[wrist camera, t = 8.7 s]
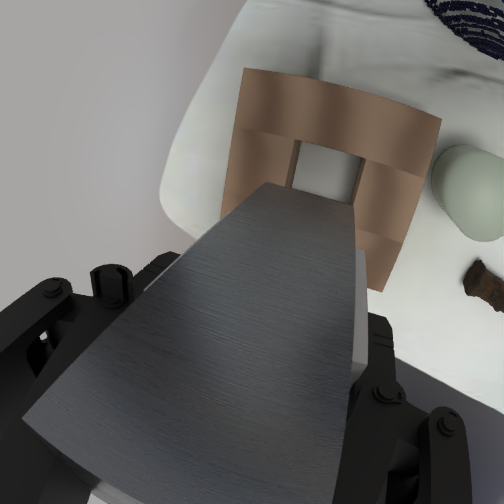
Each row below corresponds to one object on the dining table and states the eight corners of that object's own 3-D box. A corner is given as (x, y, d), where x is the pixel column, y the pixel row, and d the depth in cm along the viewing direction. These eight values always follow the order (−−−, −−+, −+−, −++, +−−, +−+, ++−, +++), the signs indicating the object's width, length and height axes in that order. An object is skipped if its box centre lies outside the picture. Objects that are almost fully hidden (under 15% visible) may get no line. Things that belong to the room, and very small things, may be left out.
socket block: (428, 117, 25) (441, 119, 21) (379, 269, 34) (382, 292, 29) (259, 73, 28) (243, 67, 24) (233, 225, 37) (217, 242, 33)
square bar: (354, 206, 14) (317, 556, 2) (328, 282, 16) (254, 563, 4) (265, 181, 15) (21, 418, 3) (250, 259, 17) (92, 494, 5)
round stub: (501, 161, 24) (531, 175, 18) (478, 226, 27) (502, 252, 22) (442, 133, 25) (466, 139, 19) (421, 202, 29) (437, 225, 23)
